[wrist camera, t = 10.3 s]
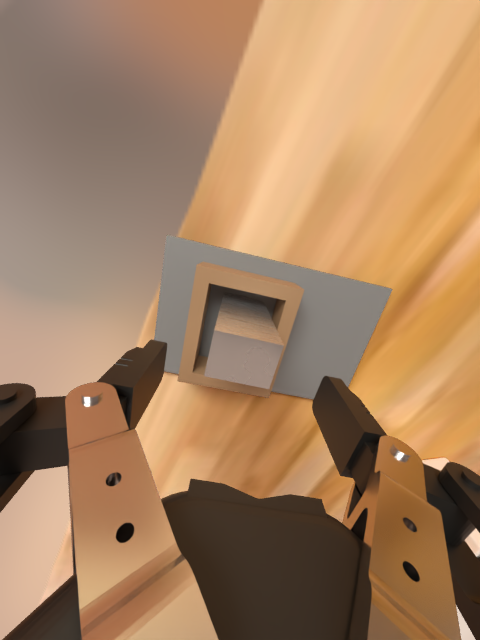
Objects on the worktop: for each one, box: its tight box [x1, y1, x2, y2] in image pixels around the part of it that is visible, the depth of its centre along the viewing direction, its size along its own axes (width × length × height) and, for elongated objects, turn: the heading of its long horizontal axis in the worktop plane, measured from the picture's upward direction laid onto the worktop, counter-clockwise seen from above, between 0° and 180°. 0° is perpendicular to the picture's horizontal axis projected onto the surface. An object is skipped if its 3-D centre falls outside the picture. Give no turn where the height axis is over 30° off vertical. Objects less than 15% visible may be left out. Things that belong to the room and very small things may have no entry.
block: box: [204, 292, 284, 389], centre depth 18 cm, size 6×4×10 cm, turn 166°
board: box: [154, 235, 392, 399], centre depth 22 cm, size 14×22×4 cm, turn 77°
